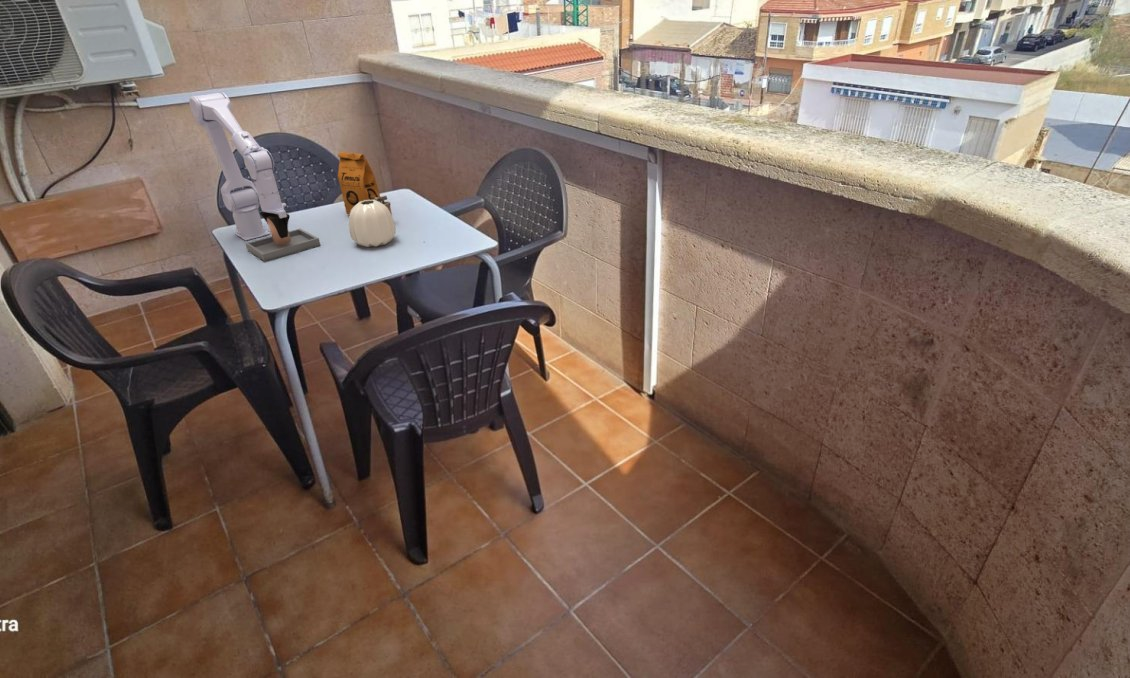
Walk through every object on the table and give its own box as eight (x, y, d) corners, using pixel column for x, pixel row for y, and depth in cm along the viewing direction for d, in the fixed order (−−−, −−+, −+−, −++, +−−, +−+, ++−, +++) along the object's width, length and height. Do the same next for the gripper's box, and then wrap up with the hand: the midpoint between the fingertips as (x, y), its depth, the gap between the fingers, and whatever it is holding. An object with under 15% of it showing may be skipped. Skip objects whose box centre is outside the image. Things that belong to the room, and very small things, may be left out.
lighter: (377, 230, 195) (371, 201, 190) (370, 228, 197) (365, 199, 192) (396, 223, 201) (391, 195, 195) (390, 221, 202) (384, 193, 197)
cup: (271, 242, 182) (263, 217, 178) (287, 237, 185) (280, 213, 181) (277, 246, 179) (270, 221, 175) (293, 241, 182) (286, 216, 178)
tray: (247, 250, 182) (245, 243, 180) (302, 235, 192) (300, 228, 191) (264, 262, 174) (262, 254, 172) (320, 245, 184) (318, 238, 183)
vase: (385, 252, 178) (377, 210, 171) (344, 249, 181) (335, 208, 174) (404, 236, 190) (397, 196, 183) (366, 233, 192) (358, 194, 186)
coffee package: (368, 221, 203) (355, 157, 192) (342, 216, 208) (328, 154, 197) (388, 212, 211) (376, 151, 199) (362, 208, 216) (350, 148, 205)
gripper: (291, 193, 172) (303, 237, 179) (271, 184, 180) (283, 226, 188) (267, 199, 167) (280, 243, 174) (248, 190, 176) (261, 232, 183)
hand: (280, 235), depth 181 cm, fingers closed on cup, 5 cm apart
